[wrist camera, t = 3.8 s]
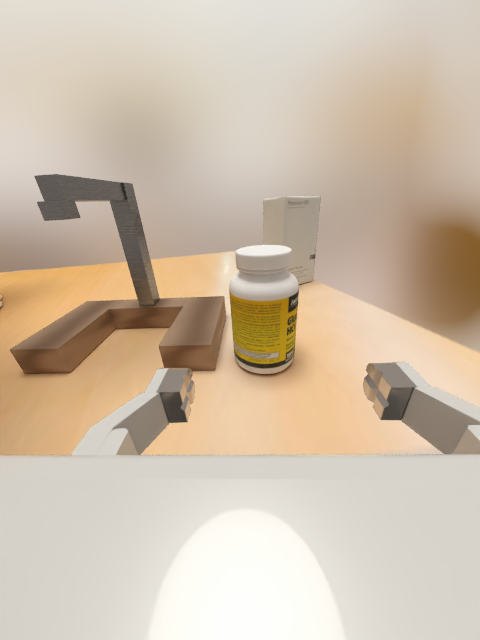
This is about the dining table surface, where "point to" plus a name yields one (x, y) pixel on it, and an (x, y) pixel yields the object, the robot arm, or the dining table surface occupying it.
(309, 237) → the skincare box
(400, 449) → the dining table surface
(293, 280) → the pill bottle
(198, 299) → the cutout shelf
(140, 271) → the hook arm
